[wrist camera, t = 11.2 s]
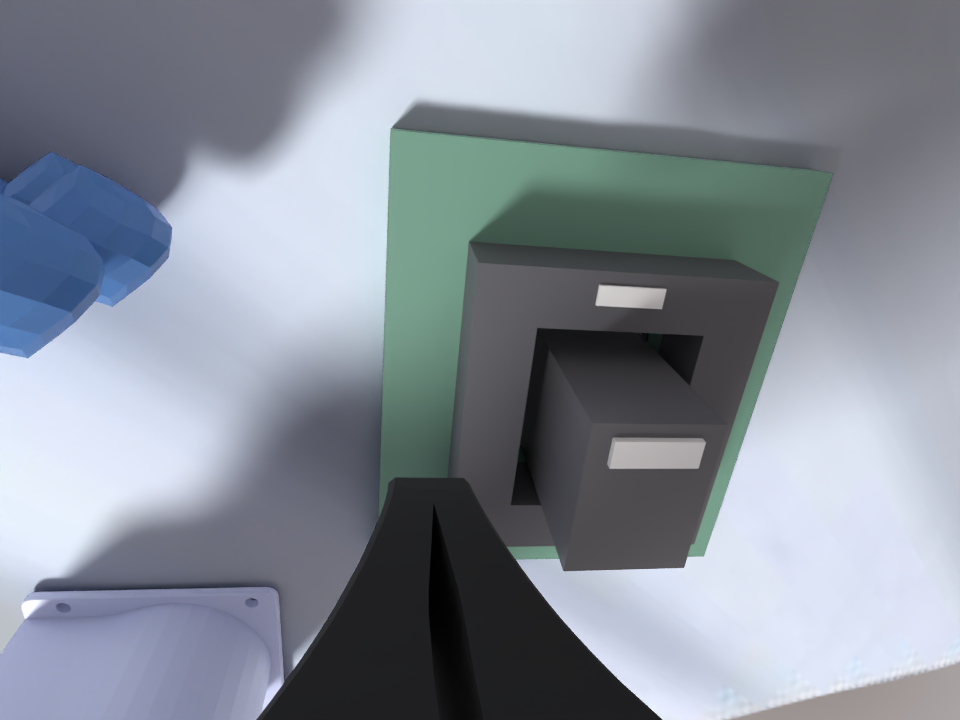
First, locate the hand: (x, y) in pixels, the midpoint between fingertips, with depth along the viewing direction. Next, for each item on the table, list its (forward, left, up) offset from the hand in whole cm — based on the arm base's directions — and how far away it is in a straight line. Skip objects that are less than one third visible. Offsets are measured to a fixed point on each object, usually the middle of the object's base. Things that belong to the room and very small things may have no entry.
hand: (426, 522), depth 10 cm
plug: (+6, -2, -10) cm, 12 cm away
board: (+6, -2, -10) cm, 12 cm away
